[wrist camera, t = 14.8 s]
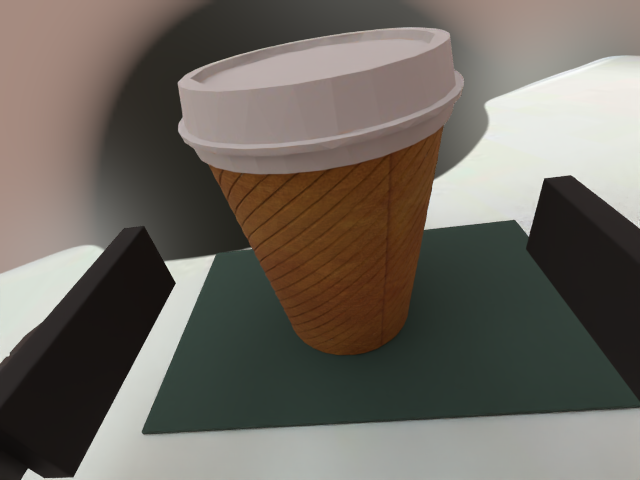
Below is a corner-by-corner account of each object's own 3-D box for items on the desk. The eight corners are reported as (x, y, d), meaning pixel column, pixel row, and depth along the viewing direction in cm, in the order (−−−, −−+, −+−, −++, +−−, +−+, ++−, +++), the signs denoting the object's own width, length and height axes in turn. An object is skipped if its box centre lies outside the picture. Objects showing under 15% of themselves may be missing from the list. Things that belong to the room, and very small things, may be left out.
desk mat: (514, 222, 22) (514, 219, 22) (661, 406, 12) (664, 403, 12) (217, 255, 24) (216, 252, 24) (143, 434, 14) (141, 432, 14)
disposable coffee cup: (270, 259, 22) (207, 55, 15) (416, 240, 22) (421, 17, 14) (246, 399, 15) (97, 121, 8) (472, 379, 14) (540, 47, 7)
